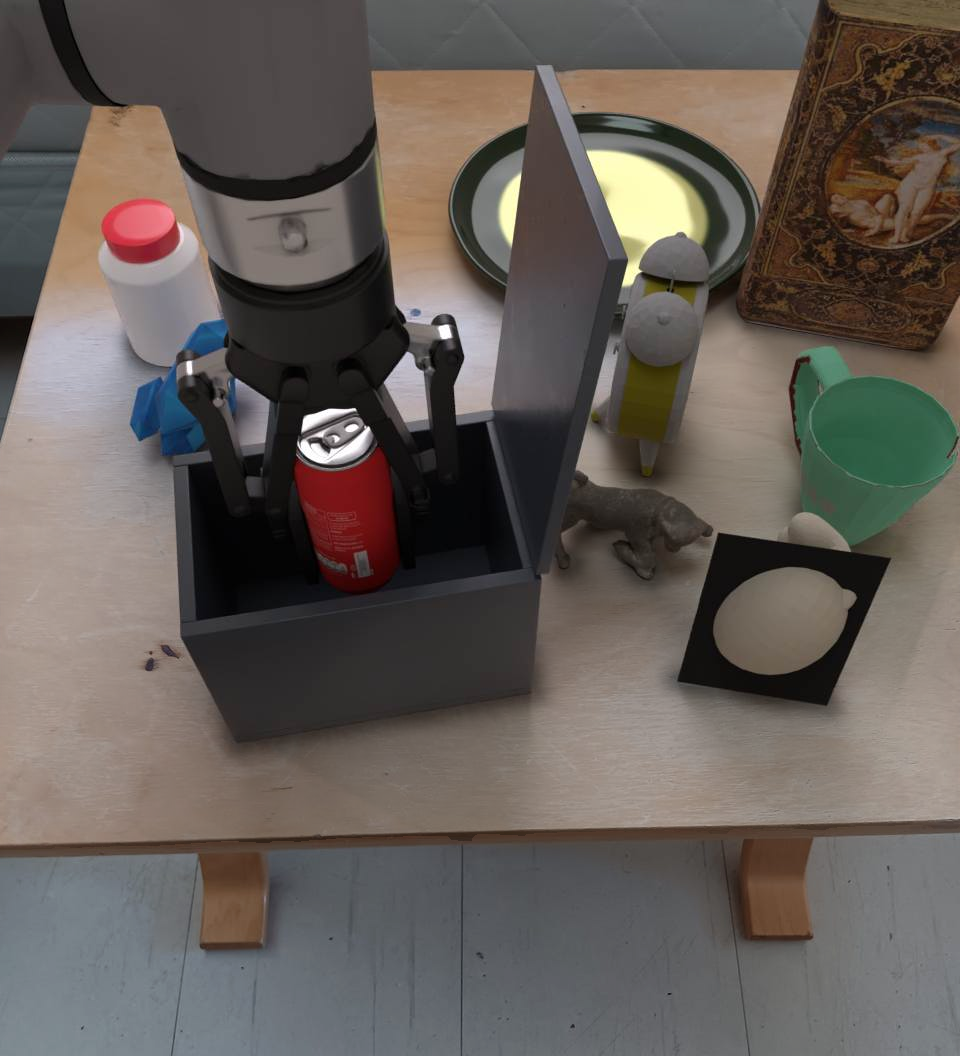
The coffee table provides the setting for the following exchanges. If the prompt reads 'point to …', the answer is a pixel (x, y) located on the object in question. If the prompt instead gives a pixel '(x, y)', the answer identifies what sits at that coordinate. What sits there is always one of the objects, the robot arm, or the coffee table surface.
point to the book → (865, 180)
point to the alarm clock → (658, 346)
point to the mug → (865, 444)
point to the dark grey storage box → (358, 603)
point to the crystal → (162, 403)
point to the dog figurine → (631, 521)
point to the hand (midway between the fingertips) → (359, 558)
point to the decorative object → (781, 612)
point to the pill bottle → (155, 278)
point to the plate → (617, 195)
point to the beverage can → (347, 501)
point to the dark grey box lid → (553, 315)
